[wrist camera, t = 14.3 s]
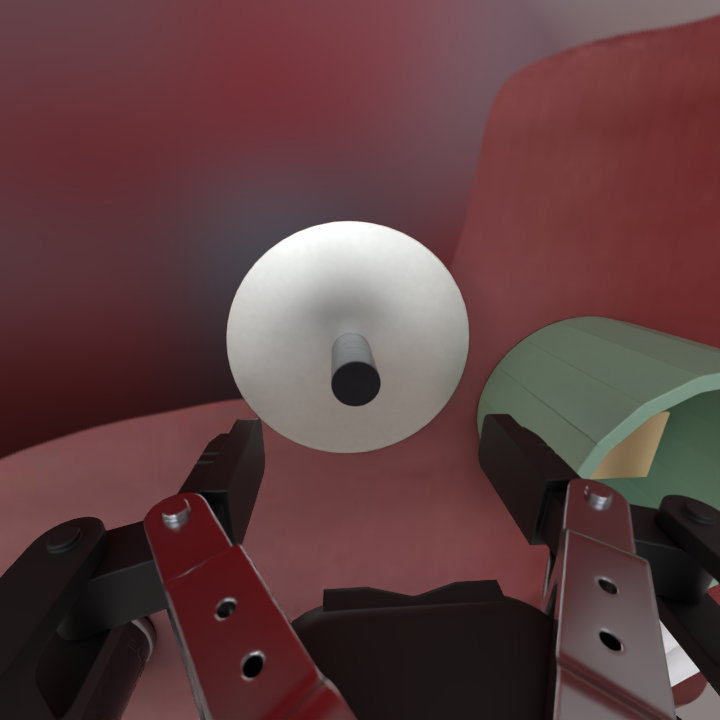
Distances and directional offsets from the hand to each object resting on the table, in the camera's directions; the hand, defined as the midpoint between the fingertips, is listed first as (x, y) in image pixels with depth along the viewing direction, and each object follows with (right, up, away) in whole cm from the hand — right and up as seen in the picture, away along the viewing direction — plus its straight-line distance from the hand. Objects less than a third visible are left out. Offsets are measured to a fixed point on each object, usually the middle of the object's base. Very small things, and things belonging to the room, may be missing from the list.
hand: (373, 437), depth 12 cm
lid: (-1, +4, +9) cm, 10 cm away
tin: (+15, -1, +13) cm, 19 cm away
